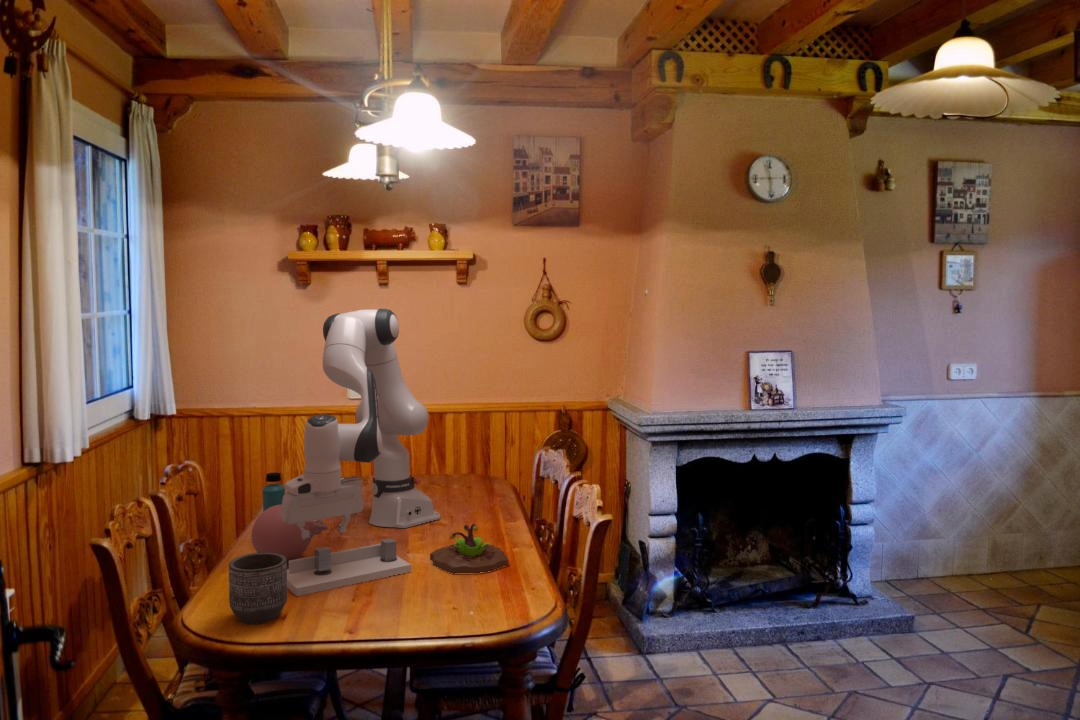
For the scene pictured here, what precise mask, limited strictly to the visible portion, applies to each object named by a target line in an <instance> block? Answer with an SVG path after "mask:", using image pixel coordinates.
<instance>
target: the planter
mask: <svg viewBox="0 0 1080 720" xmlns="http://www.w3.org/2000/svg"><path fill="white" fill-rule="evenodd" d="M287 569H288V562H287V560H286V557H285V556H283V555H281V554H277V553H257V552H255V553H248V554H247V553H246V554H243V555H240V556H237V557H236V558H233V559H232V560H230V561H229V563H228V589H229V590H228V596H229V597H228V599H229V602H228V603H229V608H230V610H231V611H232V612H233V614H234V615H235V617H236V618H237V620H238V621H239V622H240V623H242V624H245V625H262V624H266V623H270V622H272V621H274V620H276V619H278V617H279V615H280V613H281V612H282V611H283V609H284V607H285V606H286V604H287V600H288V588H287Z"/></svg>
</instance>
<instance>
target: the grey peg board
mask: <svg viewBox="0 0 1080 720" xmlns="http://www.w3.org/2000/svg"><path fill="white" fill-rule="evenodd" d="M408 572H409V573H412V564H411V563H410V562H408V561H406V560H404V559H403V558H402V557H399V556H398V555H397V541H396V540H395V539H394V538H385V539H381V540H380V543H376V544H370V545H366V546H360V547H354V548H350V549H344V550H339V551H333V552H332V551H331V569H329V570H324V571H318V570H317V569H315V555H311V556H306V557H301V558H300V557H299V558H296V559H295V560H289V562H288V568H287V590H289V591H290V592H291V593H292V594H294V595H295V596H296V597H301V596H302V597H303V596H306V595H310V594H316V593H320V592H323V591H325V592H326V591H329V590H334V589H338V587H339V588H343V586H344V587H348V586H347V585H349V586H352V584H353V585H357V583H358V584H361V582H363V583H367V582H371V581H370V580H372V581H376V580H375V579H377V580H380V578H381V579H385V577H386V578H390V577H389V576H391V577H394V576H393V575H395V576H399V575H398V574H400V575H404V574H403V573H405V574H409V573H408ZM319 591H320V592H319ZM315 592H316V593H315Z"/></svg>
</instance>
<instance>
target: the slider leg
mask: <svg viewBox="0 0 1080 720" xmlns="http://www.w3.org/2000/svg"><path fill="white" fill-rule="evenodd" d="M331 553H332V551H331V549H330V547H328V546H322V547H316V548H314V556H315V569H317V570H318V571H324V570H329V569H331Z"/></svg>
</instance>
